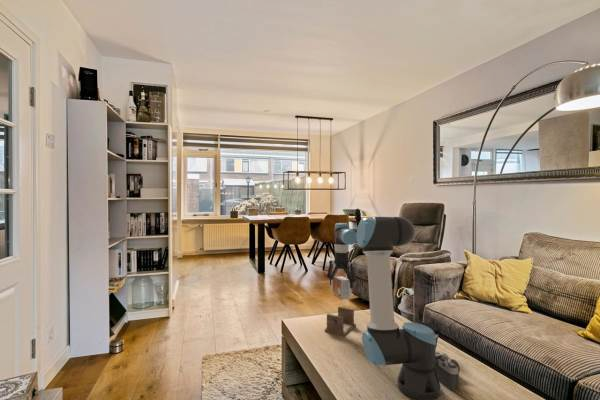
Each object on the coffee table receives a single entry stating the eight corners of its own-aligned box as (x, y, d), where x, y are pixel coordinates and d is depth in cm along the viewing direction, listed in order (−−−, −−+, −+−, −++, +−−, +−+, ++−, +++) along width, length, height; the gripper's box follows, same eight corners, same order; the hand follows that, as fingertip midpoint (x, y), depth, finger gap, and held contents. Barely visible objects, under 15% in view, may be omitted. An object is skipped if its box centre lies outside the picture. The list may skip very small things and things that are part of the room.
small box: (333, 295, 176) (333, 276, 176) (341, 294, 178) (341, 275, 178) (340, 300, 168) (341, 280, 168) (349, 298, 171) (349, 279, 171)
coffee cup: (442, 359, 141) (442, 332, 141) (416, 357, 143) (416, 330, 143) (436, 348, 152) (437, 323, 152) (412, 345, 154) (413, 321, 154)
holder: (342, 337, 163) (343, 319, 163) (324, 332, 169) (324, 314, 169) (356, 325, 178) (356, 309, 178) (338, 321, 184) (338, 305, 184)
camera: (472, 387, 121) (472, 361, 121) (450, 392, 118) (450, 365, 118) (442, 366, 136) (443, 342, 136) (422, 369, 133) (423, 346, 133)
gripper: (363, 252, 170) (363, 294, 170) (326, 248, 182) (326, 287, 182) (358, 254, 164) (357, 298, 164) (320, 250, 176) (320, 290, 176)
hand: (341, 292), depth 173 cm, fingers closed on small box, 9 cm apart
